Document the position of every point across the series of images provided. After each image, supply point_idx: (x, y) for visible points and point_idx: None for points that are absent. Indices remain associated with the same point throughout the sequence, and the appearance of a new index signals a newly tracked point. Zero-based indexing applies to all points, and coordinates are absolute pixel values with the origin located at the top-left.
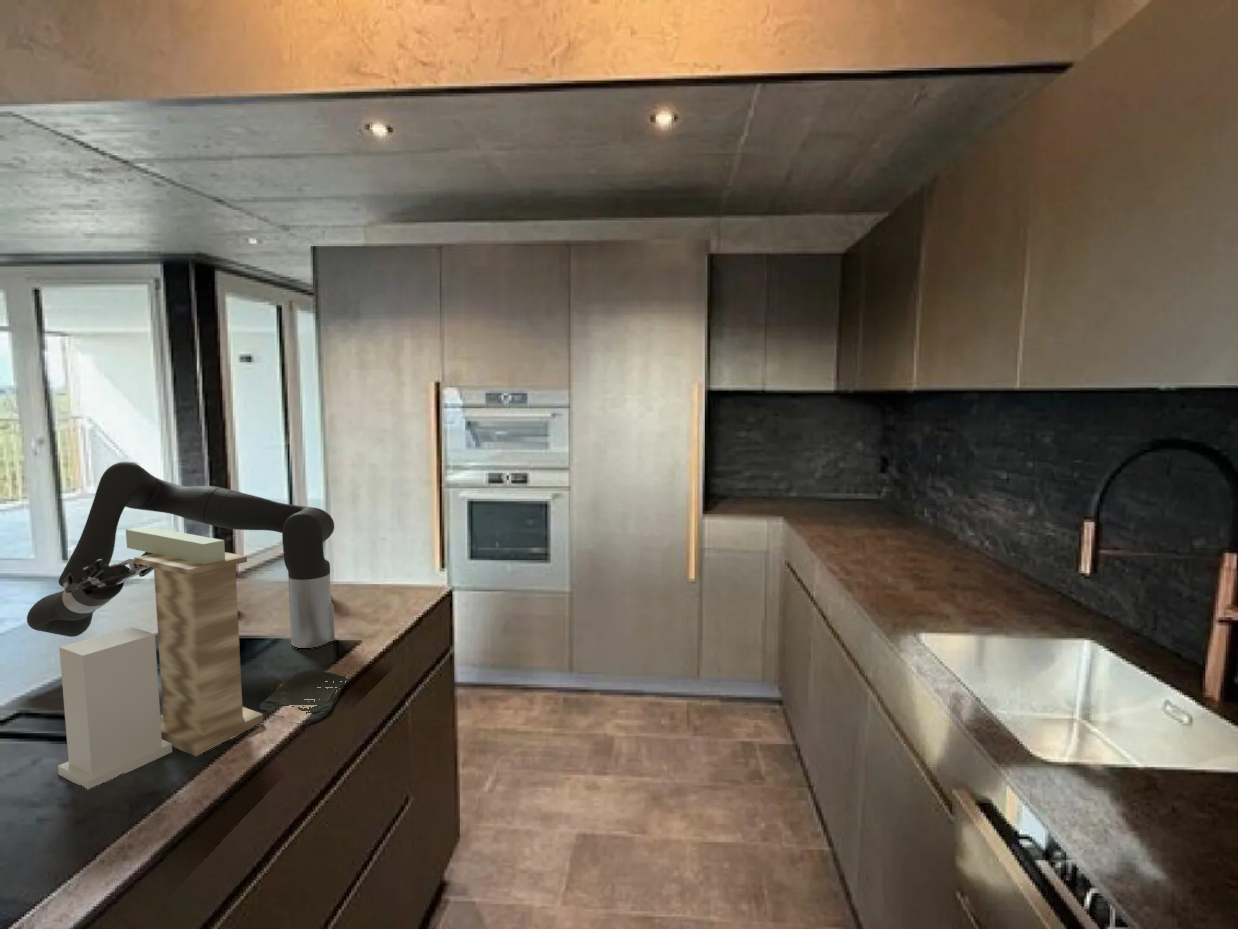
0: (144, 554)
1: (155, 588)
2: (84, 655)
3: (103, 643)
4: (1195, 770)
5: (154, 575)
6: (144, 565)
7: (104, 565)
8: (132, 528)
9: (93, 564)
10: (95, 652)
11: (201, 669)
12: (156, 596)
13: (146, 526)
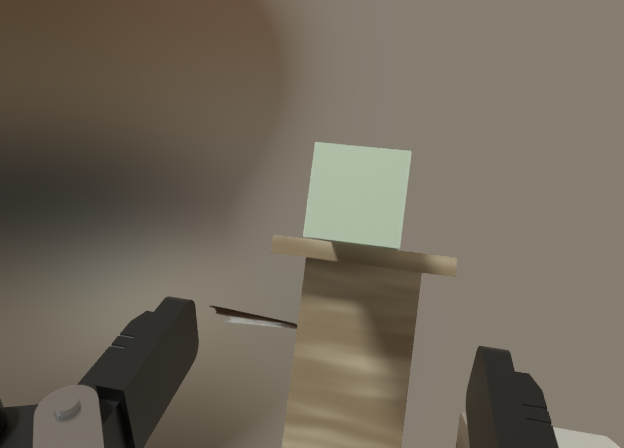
0: (162, 345)
1: (412, 347)
2: (603, 436)
3: (561, 440)
4: (209, 306)
5: (417, 307)
6: (146, 440)
7: (469, 380)
8: (380, 148)
9: (530, 385)
10: (581, 433)
11: None
12: (409, 371)
13: (319, 143)
